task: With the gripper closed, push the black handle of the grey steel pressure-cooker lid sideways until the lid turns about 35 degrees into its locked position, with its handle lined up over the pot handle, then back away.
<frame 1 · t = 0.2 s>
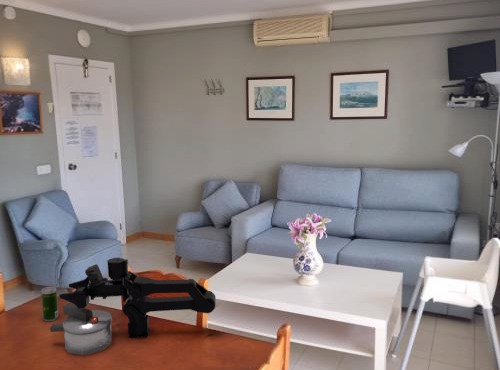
hand: (64, 290, 153), 17 cm above the table, tool horizontal, fingers open, 9 cm apart
cooker pot: (88, 343, 150), on the table
cooker lid: (84, 316, 150), point 9 cm above the table, hinge at -35.0°
beer can: (50, 319, 169), on the table
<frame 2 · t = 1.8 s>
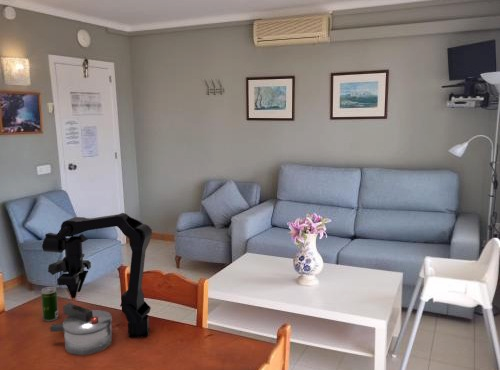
hand: (76, 294, 159), 13 cm above the table, tool pointing down, fingers open, 5 cm apart
nothing on the table moved.
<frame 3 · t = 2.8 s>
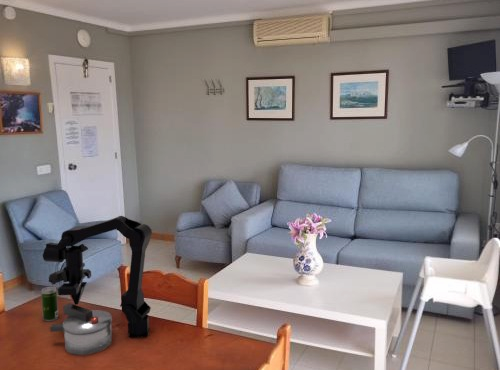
hand: (76, 304, 159), 10 cm above the table, tool pointing down, fingers closed
nothing on the table moved.
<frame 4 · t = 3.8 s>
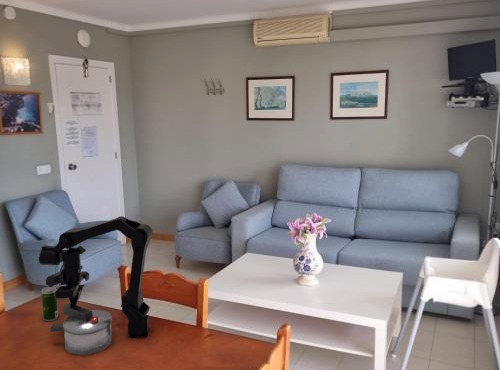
hand: (74, 307, 157), 10 cm above the table, tool pointing down, fingers closed
cooker lid: (84, 316, 150), point 9 cm above the table, hinge at -34.8°, touching gripper
everything else where it was.
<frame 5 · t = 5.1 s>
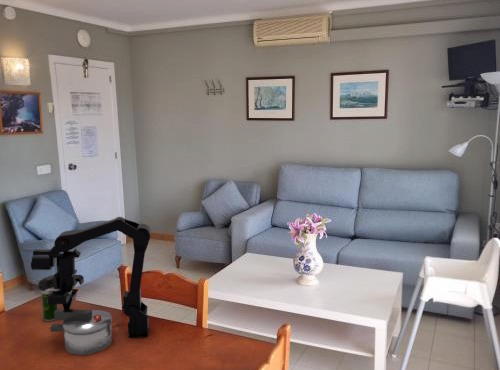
hand: (66, 311, 152), 10 cm above the table, tool pointing down, fingers closed
cooker lid: (83, 317, 149), point 9 cm above the table, hinge at -9.6°, touching gripper
everything else where it was.
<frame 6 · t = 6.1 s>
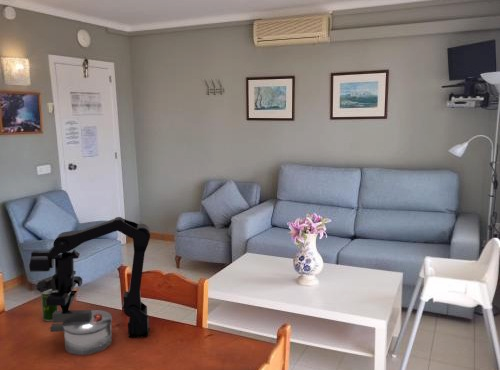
hand: (65, 313, 151), 10 cm above the table, tool pointing down, fingers closed
cooker lid: (82, 317, 149), point 9 cm above the table, hinge at 0.2°, touching gripper
everything else where it was.
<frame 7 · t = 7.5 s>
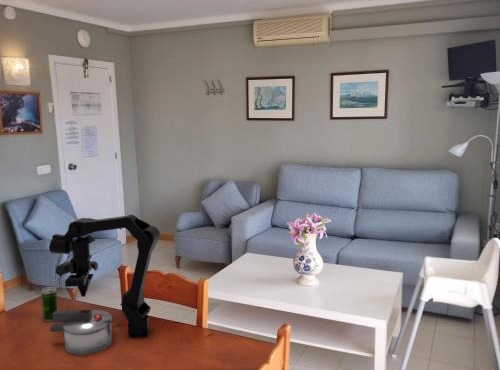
hand: (83, 296, 158), 13 cm above the table, tool pointing down, fingers closed
cooker lid: (82, 317, 149), point 9 cm above the table, hinge at 0.3°
everything else where it was.
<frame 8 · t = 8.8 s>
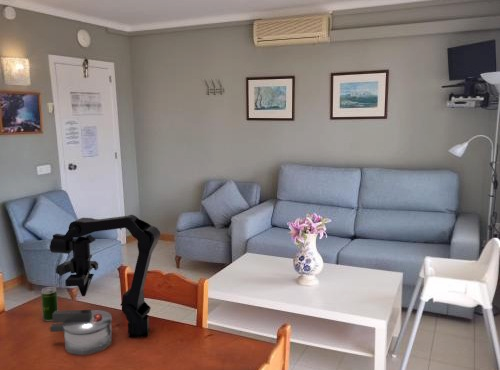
hand: (83, 295, 158), 13 cm above the table, tool pointing down, fingers closed
nothing on the table moved.
at the end: cooker lid at +0° (first picture: -35°); beer can tilted 0° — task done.
